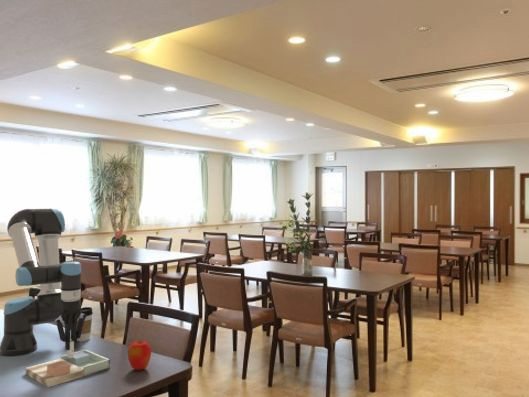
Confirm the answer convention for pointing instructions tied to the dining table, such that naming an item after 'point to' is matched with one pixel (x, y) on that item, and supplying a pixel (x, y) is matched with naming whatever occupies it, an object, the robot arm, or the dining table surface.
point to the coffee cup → (86, 324)
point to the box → (92, 362)
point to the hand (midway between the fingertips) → (70, 357)
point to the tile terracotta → (58, 368)
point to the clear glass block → (80, 358)
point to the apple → (139, 355)
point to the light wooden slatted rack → (48, 380)
